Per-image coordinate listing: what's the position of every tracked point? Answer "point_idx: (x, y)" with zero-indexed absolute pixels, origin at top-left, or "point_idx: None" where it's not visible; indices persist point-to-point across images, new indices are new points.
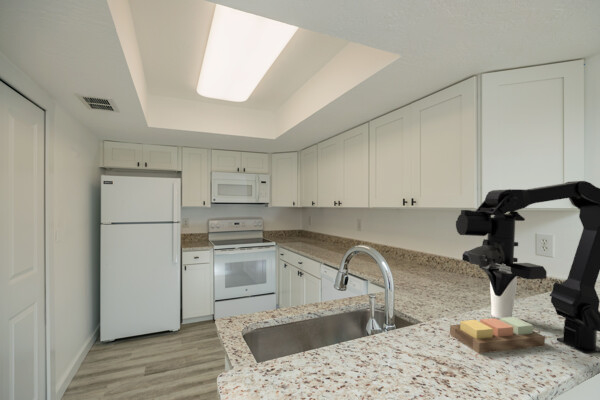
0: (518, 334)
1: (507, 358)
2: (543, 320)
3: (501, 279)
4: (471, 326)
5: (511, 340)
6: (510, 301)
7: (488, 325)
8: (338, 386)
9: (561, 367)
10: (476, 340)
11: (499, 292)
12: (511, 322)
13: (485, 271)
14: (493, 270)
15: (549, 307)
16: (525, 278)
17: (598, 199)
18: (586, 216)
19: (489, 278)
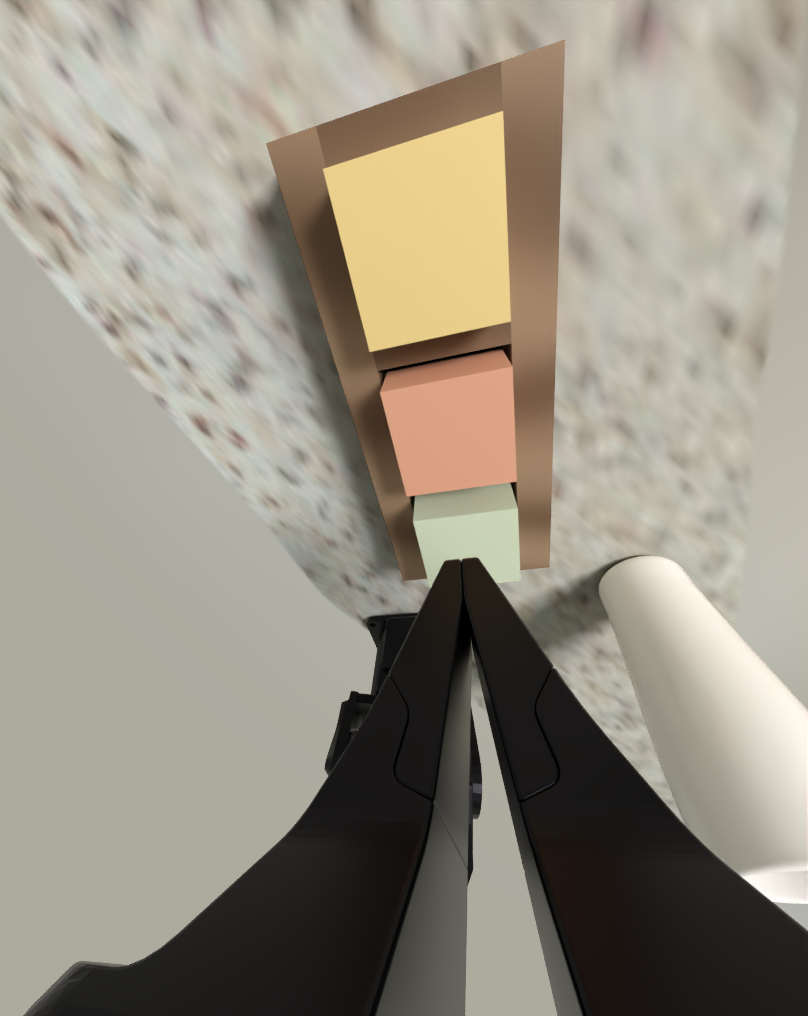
0: (415, 501)
1: (281, 326)
2: (571, 673)
3: (319, 792)
4: (391, 166)
5: (355, 425)
6: (630, 664)
7: (445, 375)
8: None
9: (271, 497)
10: (303, 149)
11: (432, 597)
12: (458, 525)
13: (747, 927)
14: None
15: (640, 739)
16: None
17: None
18: None
19: (585, 724)
